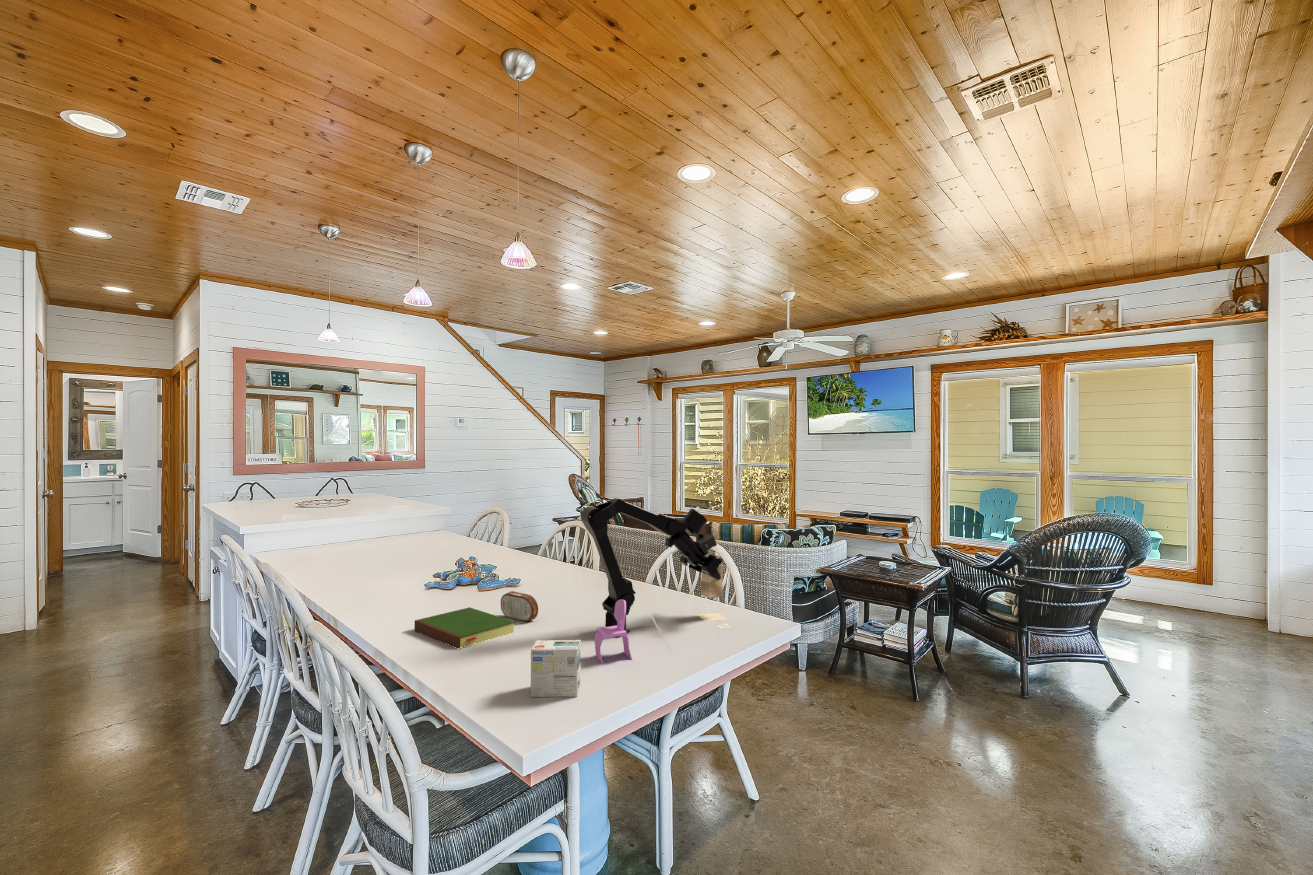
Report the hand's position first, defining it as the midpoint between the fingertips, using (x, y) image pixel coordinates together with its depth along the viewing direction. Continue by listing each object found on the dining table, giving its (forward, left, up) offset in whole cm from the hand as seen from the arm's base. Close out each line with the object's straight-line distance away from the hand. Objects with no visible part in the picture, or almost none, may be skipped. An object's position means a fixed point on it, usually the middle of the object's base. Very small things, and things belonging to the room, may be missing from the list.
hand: (715, 577), depth 186 cm
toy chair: (-47, +8, -14) cm, 49 cm away
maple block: (-1, +1, -6) cm, 6 cm away
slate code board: (-5, -3, -13) cm, 15 cm away
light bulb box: (-71, +7, -14) cm, 72 cm away
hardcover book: (-53, +59, -14) cm, 80 cm away
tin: (-35, +54, -14) cm, 66 cm away
